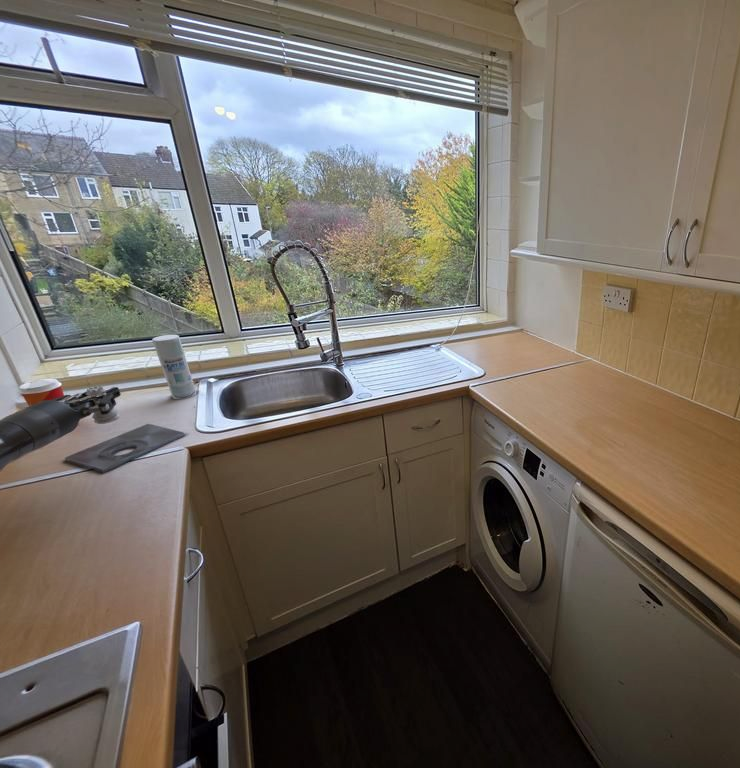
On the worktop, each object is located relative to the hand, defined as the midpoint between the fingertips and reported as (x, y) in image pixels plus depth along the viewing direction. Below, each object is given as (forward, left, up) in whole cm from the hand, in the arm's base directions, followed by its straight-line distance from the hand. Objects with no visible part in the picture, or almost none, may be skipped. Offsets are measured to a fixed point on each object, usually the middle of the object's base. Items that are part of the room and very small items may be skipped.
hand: (108, 391), depth 93 cm
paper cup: (+2, +33, -18) cm, 37 cm away
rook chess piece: (-3, -1, -6) cm, 7 cm away
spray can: (+29, +24, -18) cm, 41 cm away
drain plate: (+2, +5, -18) cm, 18 cm away
